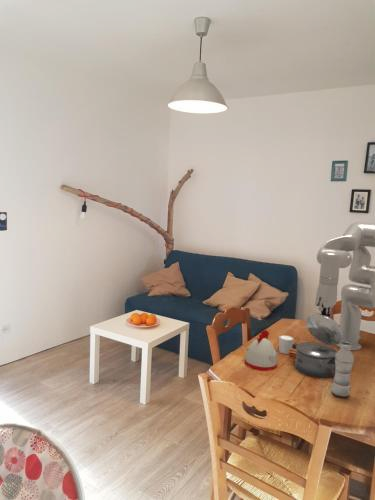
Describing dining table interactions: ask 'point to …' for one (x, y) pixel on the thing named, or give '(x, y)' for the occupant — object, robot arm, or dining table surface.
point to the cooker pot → (315, 359)
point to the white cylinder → (285, 344)
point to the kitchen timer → (261, 354)
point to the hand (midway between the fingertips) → (324, 322)
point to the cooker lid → (324, 329)
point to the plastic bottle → (342, 370)
